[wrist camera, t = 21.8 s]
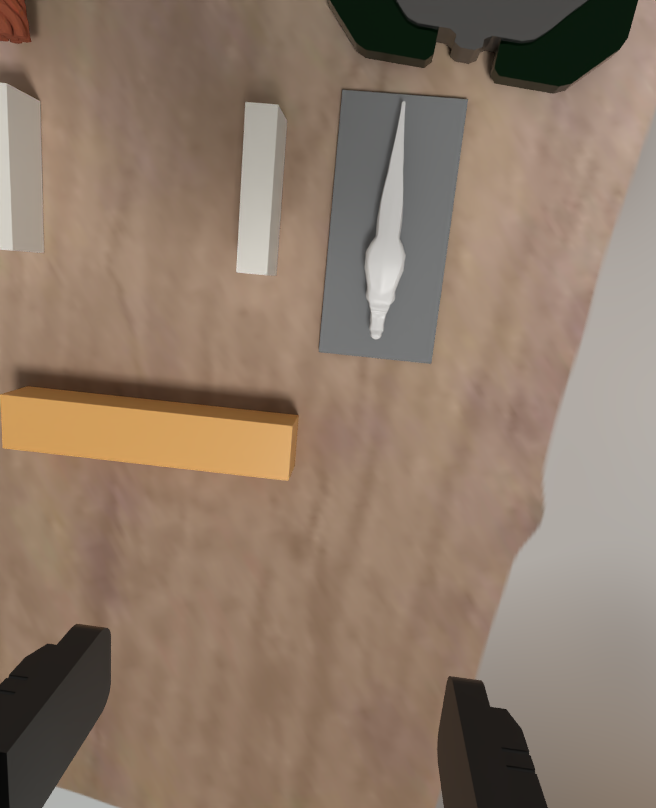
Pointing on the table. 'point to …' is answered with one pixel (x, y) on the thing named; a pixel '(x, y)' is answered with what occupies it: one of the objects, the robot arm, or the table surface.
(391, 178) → the white tapered spike
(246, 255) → the rails
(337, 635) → the table surface
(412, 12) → the flat green button pad
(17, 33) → the cable
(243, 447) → the bar
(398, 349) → the mat
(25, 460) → the table surface
